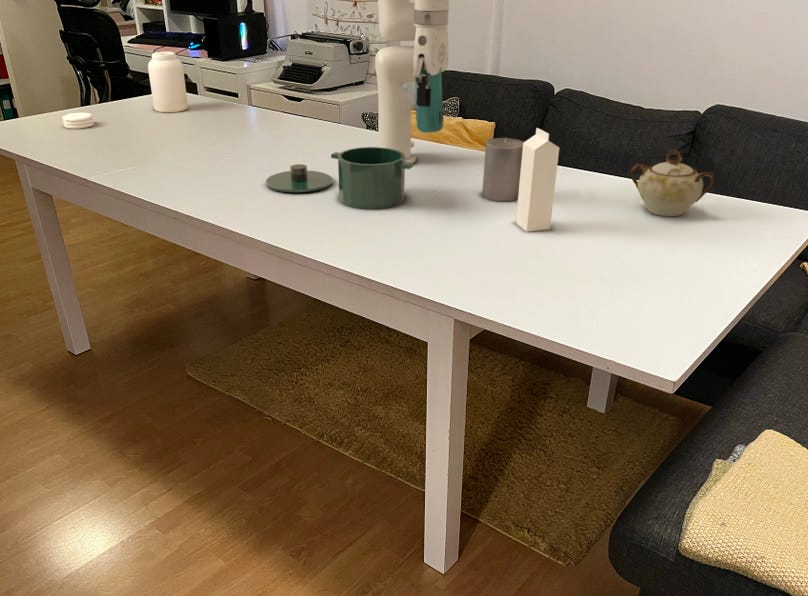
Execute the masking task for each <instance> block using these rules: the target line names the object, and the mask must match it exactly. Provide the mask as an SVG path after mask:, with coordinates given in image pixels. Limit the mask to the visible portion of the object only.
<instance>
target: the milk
mask: <svg viewBox="0 0 808 596" xmlns="http://www.w3.org/2000/svg"><path fill="white" fill-rule="evenodd" d="M549 139H550V134H549V132H546V131H544V130H543V129H541V128H538V127H536V129H535V134H534V135H533V136H531V137H529V138H528V139H527V140H525V141H523V142H524V143H523V151H522V161H521V172H520V183H519V194H518V199H517V203H516V205H517V206H516V214H515V215H516V217H515V223H516V225H518V226H519V227H520V228H522V229H523V230H524V231H525V232H527V233H528V232H535V231H547V230H551V222H552V213H553V206H554V197H555V190H556V189H555V188H556V181H557V172H558V164H559V163H558V162H559V153H560V147H559V146H557V144H555V143H553V142H552V141H550V140H549Z"/></svg>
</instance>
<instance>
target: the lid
mask: <svg viewBox="0 0 808 596" xmlns="http://www.w3.org/2000/svg"><path fill="white" fill-rule="evenodd" d="M289 168H290V170H287V171H282V172H278V173H275V174H272V175H270V176H268V177H267V178H266V180H265V183H266V186H267V188H270V189H272V190H274V191H275V190H276V191H279V192H286V193H306V192H307V193H309V192H314V191H315V192H316V191H319V190H323V189H326V188H328V187H330V186H331V185H332V184H333V177H332V176H331V175H329V174H328V173H325V172H321V171H318V170H317V171H316V170H308V166H307V165H306V164H301V163H299V164H298V163H297V164H296V163H295V164H292V165H291V166H290V167H289Z"/></svg>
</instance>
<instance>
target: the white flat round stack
mask: <svg viewBox="0 0 808 596" xmlns="http://www.w3.org/2000/svg"><path fill="white" fill-rule="evenodd" d="M61 119H62V123H63V127H64V128H65V129H70V130H71V129H72V130H79V129H87V128H91V127H93V126H94V125H95V122H94V115H93V114H92V113H89V112H73V113H68V114H64V115H62V118H61Z"/></svg>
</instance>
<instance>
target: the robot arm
mask: <svg viewBox="0 0 808 596" xmlns="http://www.w3.org/2000/svg"><path fill="white" fill-rule="evenodd" d="M449 11H450V0H414V2H411V1H410V0H377V14H378V15H377V16H378V29H379V34H380V36H381V38H382V39H383V40H385V41H389V42H390V41H391V42H409V41H410V42H412V41H413V42H414V45H394V46H393V45H391V46H384V47H383V48H381V49H379V50H378V51H377V52H376V55H375V58H374V68H375V69H374V70H375V75H376V83H377V92H378V93H377V96H378V97H377V98H378V99H377V102H378V105H377V107H378V111H377V112H378V114H377V116H378V120H377V121H378V122H377V123H378V131H377V132H378V133H377V134H378V147H382V148H390V149H394V150H398V151H400V152H402V153H403V154H404V156H405V162H410V163H413V164H414V163H415V162H416V161H417V157H416V155H415V154H414V153H412V152H411V150H412V148H414V147H415V142H414V141H412V105H413V104H412V97H411V95H410V93H409V92H408V90H406V88H405V87H404V84H408V83H415V79H416V82H417V105H418V106H424V107H429V106H430V103H431V88H429V87H430V74H431V75H436V74H438V73H440V72H441V80H442V75H443V72H445V71H446V70H447V69H448V68H449V30H448V27H449V14H450V13H449ZM423 70H427V73H428V74H422V72H423ZM440 70H441V71H440ZM423 76H425V77H427V79H426V80H425V78H424V77H423ZM442 81H443V80H442Z"/></svg>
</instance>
